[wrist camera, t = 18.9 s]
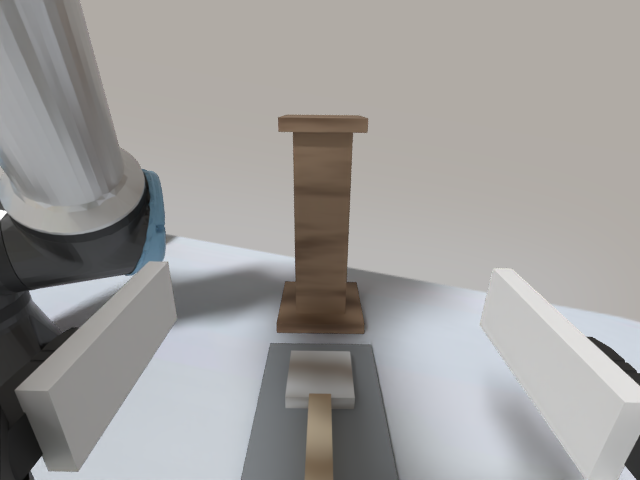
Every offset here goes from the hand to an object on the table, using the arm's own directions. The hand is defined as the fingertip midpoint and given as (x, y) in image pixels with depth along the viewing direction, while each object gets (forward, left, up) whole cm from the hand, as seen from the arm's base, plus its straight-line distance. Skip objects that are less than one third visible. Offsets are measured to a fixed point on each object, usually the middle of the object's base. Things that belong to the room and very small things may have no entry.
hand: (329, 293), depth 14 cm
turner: (+8, +5, -22) cm, 24 cm away
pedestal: (+29, +17, -22) cm, 40 cm away
